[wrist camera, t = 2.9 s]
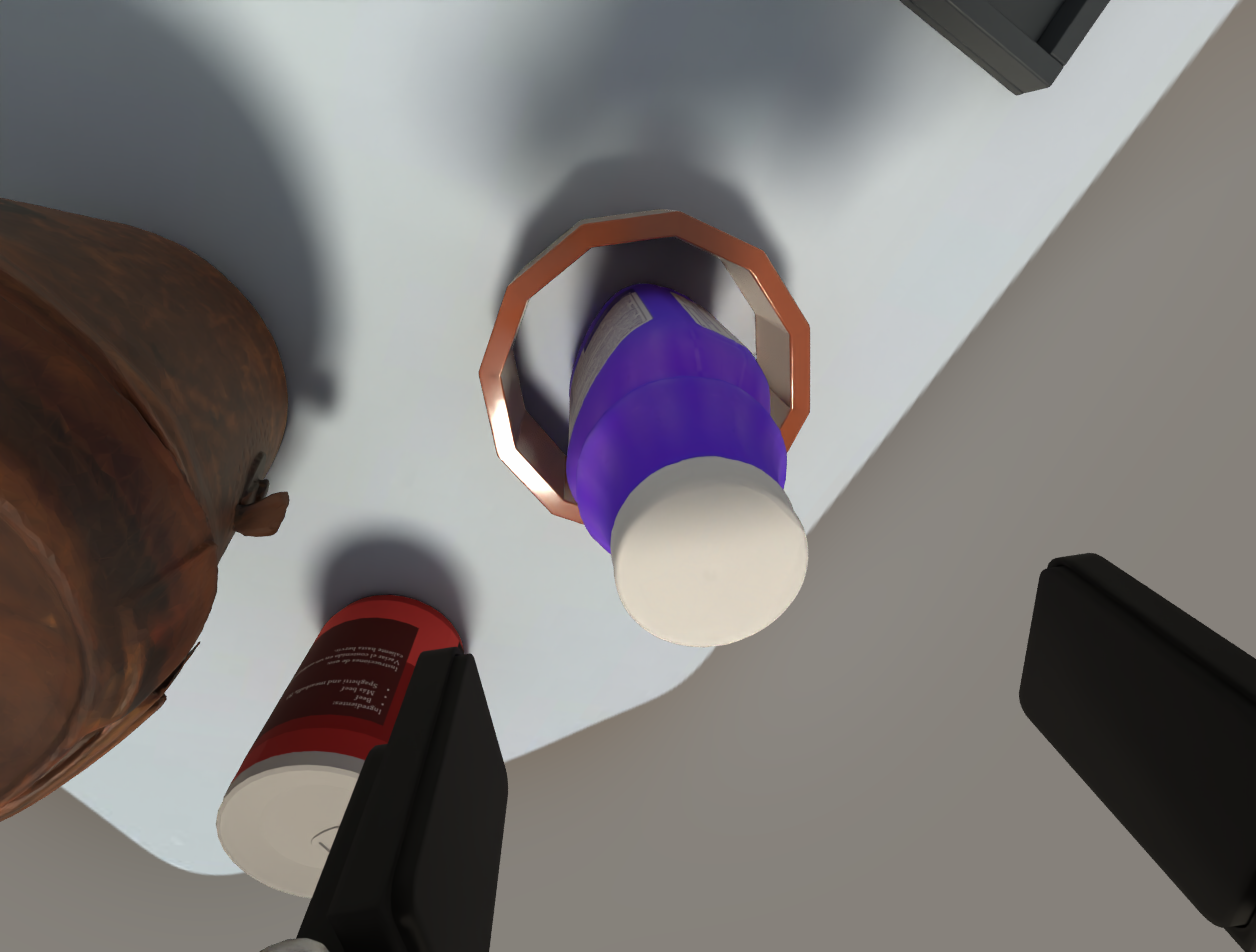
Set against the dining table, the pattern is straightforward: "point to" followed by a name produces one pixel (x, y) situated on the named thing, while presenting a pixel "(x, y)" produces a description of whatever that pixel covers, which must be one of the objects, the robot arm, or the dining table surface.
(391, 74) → the dining table surface
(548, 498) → the terracotta faceted ring
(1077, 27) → the tray
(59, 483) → the case
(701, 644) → the bottle
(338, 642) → the canned food
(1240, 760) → the robot arm
